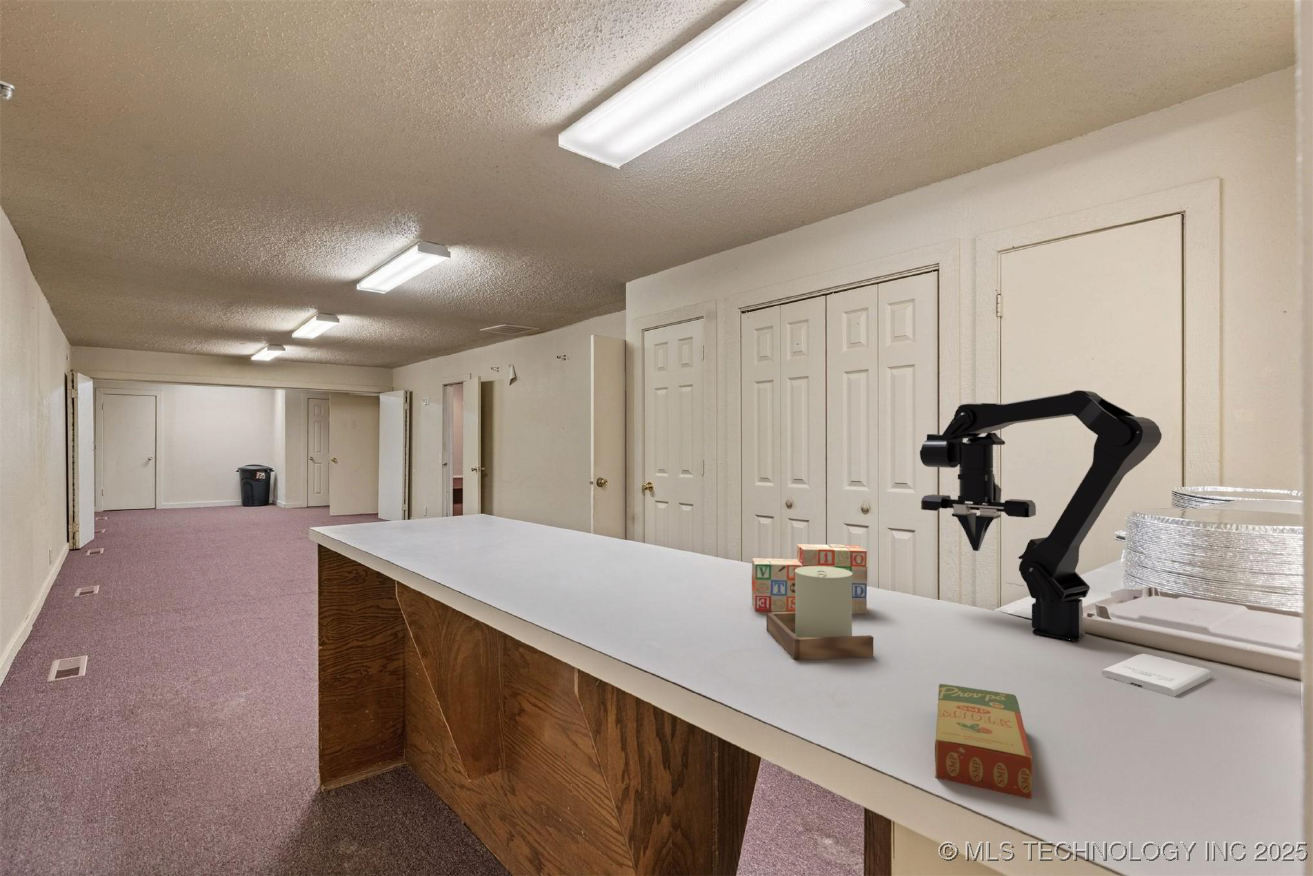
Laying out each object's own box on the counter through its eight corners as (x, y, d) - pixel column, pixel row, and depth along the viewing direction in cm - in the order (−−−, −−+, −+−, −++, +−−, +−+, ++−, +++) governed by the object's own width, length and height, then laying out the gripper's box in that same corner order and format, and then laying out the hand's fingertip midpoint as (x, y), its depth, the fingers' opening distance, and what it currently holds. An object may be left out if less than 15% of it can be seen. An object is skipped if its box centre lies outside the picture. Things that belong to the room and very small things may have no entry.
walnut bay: (834, 627, 106) (834, 610, 106) (873, 656, 92) (873, 637, 92) (766, 630, 105) (766, 612, 105) (794, 659, 90) (794, 639, 90)
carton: (933, 781, 58) (933, 737, 59) (937, 715, 73) (936, 679, 73) (1034, 803, 55) (1034, 756, 55) (1017, 729, 69) (1017, 691, 69)
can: (790, 648, 96) (790, 571, 96) (797, 631, 104) (797, 561, 104) (852, 655, 93) (852, 576, 93) (853, 637, 101) (853, 565, 101)
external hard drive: (1211, 681, 84) (1174, 700, 77) (1140, 663, 91) (1100, 679, 84) (1211, 669, 84) (1174, 688, 78) (1140, 652, 91) (1100, 667, 85)
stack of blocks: (754, 612, 117) (754, 548, 117) (751, 603, 123) (751, 542, 123) (867, 614, 115) (867, 549, 115) (858, 605, 121) (858, 544, 122)
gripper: (1042, 469, 115) (1042, 551, 115) (939, 466, 128) (940, 540, 128) (1028, 471, 107) (1028, 559, 107) (920, 467, 120) (920, 546, 120)
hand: (976, 550), depth 116 cm, fingers closed
